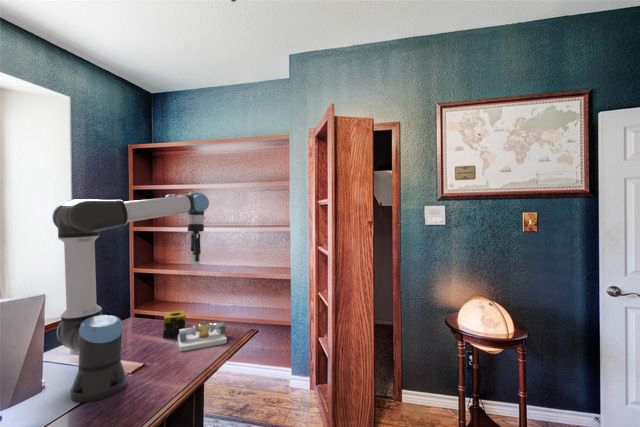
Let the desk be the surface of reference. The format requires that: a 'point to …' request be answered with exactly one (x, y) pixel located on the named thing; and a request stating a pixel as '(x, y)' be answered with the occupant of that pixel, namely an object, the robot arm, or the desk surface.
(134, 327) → the desk surface
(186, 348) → the shaft base
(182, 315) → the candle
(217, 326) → the shaft out
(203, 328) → the coupler
